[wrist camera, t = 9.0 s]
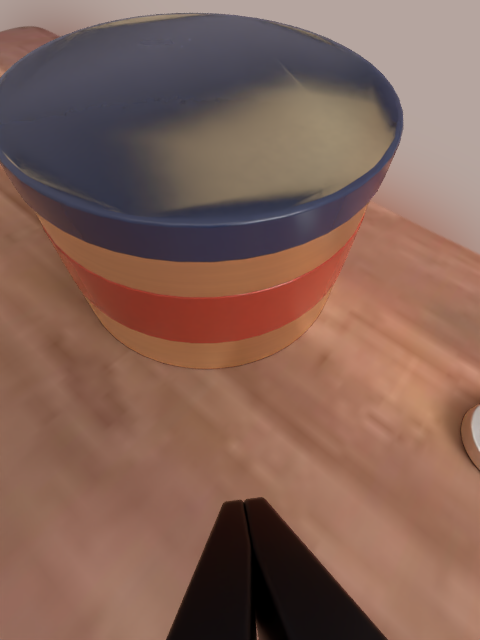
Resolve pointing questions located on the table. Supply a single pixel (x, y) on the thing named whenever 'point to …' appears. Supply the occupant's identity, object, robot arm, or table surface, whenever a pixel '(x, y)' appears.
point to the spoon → (472, 434)
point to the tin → (199, 174)
